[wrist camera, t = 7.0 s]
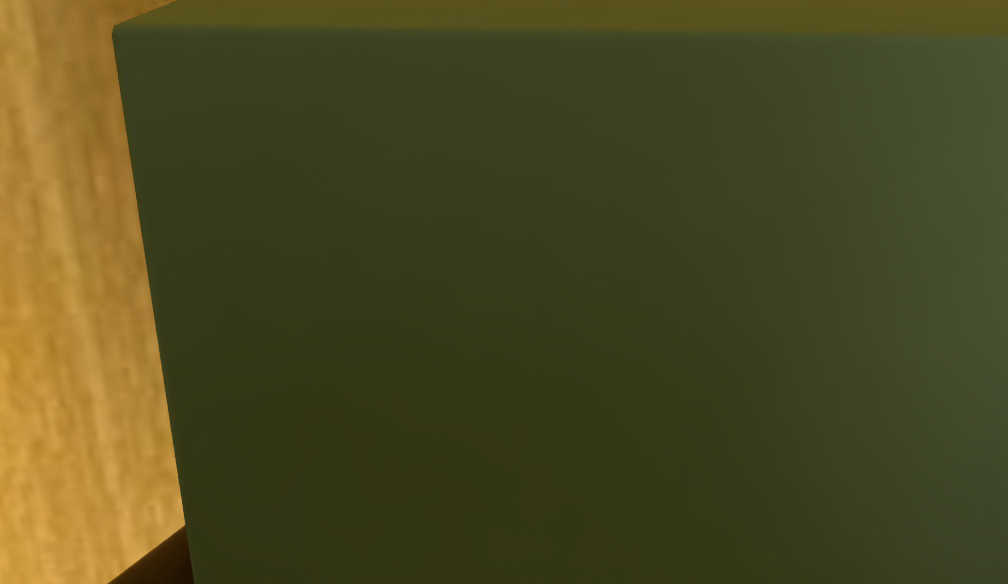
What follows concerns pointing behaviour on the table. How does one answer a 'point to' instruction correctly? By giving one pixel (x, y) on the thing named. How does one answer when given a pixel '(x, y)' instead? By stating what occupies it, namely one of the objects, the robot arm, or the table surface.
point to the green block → (579, 287)
